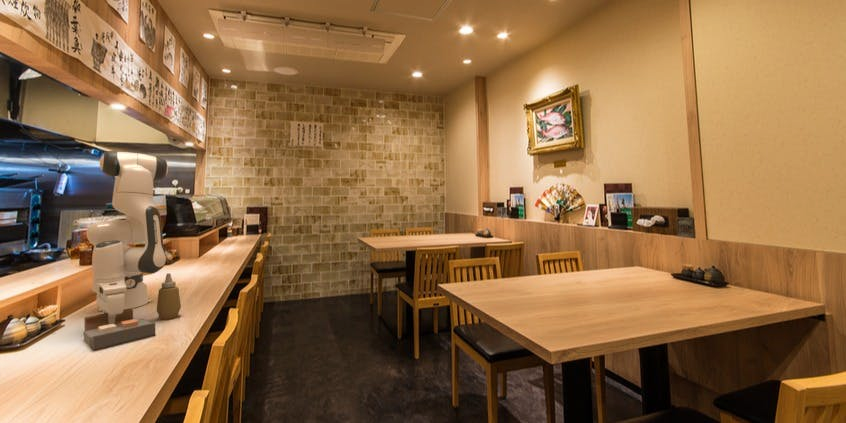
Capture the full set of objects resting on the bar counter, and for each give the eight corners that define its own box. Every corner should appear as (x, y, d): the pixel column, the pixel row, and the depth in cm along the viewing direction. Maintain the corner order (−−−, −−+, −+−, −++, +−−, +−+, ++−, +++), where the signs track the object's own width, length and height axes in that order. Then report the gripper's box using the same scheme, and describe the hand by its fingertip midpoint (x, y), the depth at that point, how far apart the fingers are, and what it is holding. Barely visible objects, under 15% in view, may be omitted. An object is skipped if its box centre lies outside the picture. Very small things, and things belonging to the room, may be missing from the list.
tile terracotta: (120, 326, 123) (120, 321, 123) (135, 322, 127) (134, 318, 127) (124, 328, 121) (124, 324, 121) (138, 325, 124) (138, 321, 124)
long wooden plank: (84, 333, 124) (84, 317, 124) (131, 323, 135) (130, 308, 134) (86, 335, 123) (86, 319, 122) (133, 325, 133) (132, 310, 133)
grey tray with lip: (83, 340, 118) (83, 327, 118) (142, 326, 131) (142, 314, 131) (94, 351, 110) (93, 337, 110) (155, 335, 123) (155, 323, 122)
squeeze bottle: (185, 314, 145) (185, 271, 145) (170, 321, 137) (169, 276, 137) (168, 313, 146) (167, 271, 146) (151, 320, 138) (150, 275, 138)
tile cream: (98, 331, 119) (98, 326, 118) (113, 327, 122) (113, 323, 122) (101, 333, 116) (101, 329, 116) (116, 330, 119) (116, 325, 119)
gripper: (90, 282, 132) (91, 318, 132) (104, 291, 120) (105, 330, 120) (112, 279, 137) (113, 314, 137) (128, 287, 125) (128, 325, 125)
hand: (109, 322), depth 129 cm, fingers open, 3 cm apart
